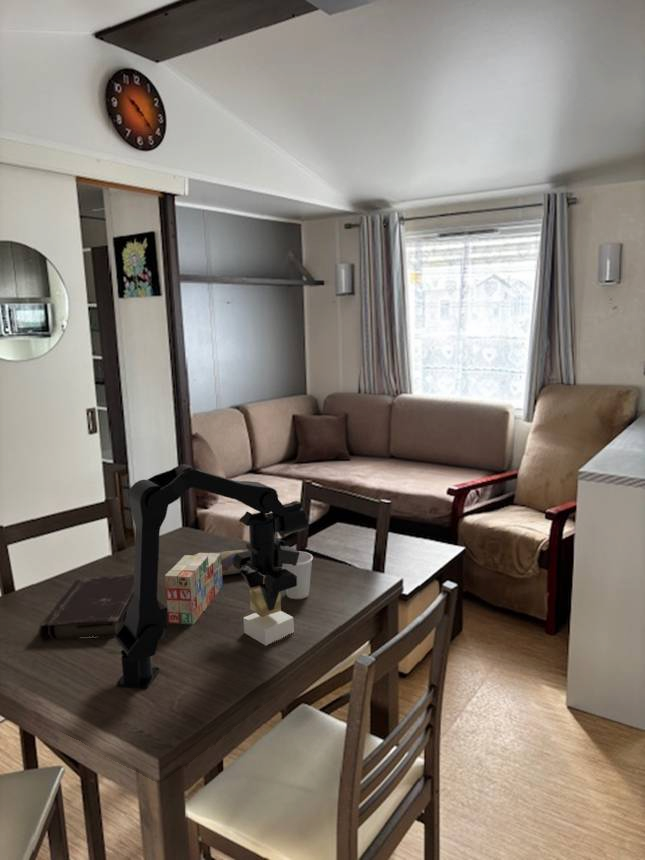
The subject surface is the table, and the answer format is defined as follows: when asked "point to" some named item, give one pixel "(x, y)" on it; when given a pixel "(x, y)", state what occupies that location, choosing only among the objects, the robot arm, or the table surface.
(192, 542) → the table surface
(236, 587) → the table surface
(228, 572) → the decorative bottle
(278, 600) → the mustard cube
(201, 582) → the stack of blocks
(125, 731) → the table surface
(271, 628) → the ivory block
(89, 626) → the diary
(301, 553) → the dixie cup
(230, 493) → the robot arm
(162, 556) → the table surface
